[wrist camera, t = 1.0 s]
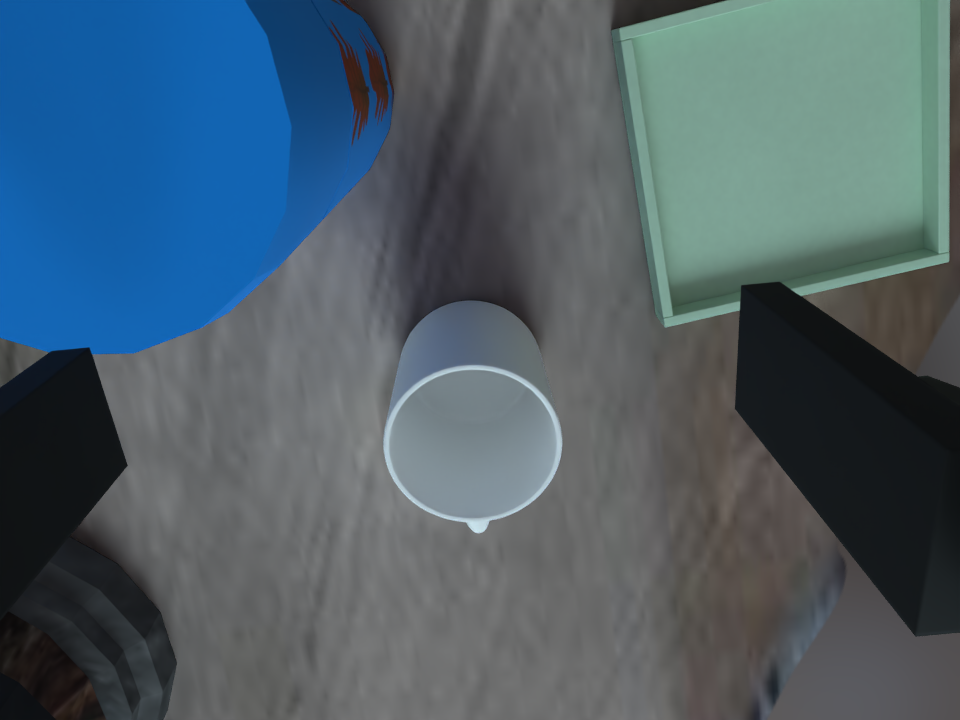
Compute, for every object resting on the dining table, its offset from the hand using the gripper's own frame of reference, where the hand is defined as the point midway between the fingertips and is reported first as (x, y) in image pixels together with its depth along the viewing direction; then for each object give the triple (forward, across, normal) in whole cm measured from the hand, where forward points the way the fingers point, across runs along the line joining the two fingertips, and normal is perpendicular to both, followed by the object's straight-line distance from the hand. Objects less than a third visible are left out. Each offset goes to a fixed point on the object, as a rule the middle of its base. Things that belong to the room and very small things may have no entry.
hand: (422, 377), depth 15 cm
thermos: (+28, -8, +5) cm, 29 cm away
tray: (+28, +19, 0) cm, 33 cm away
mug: (+28, 0, -13) cm, 31 cm away
